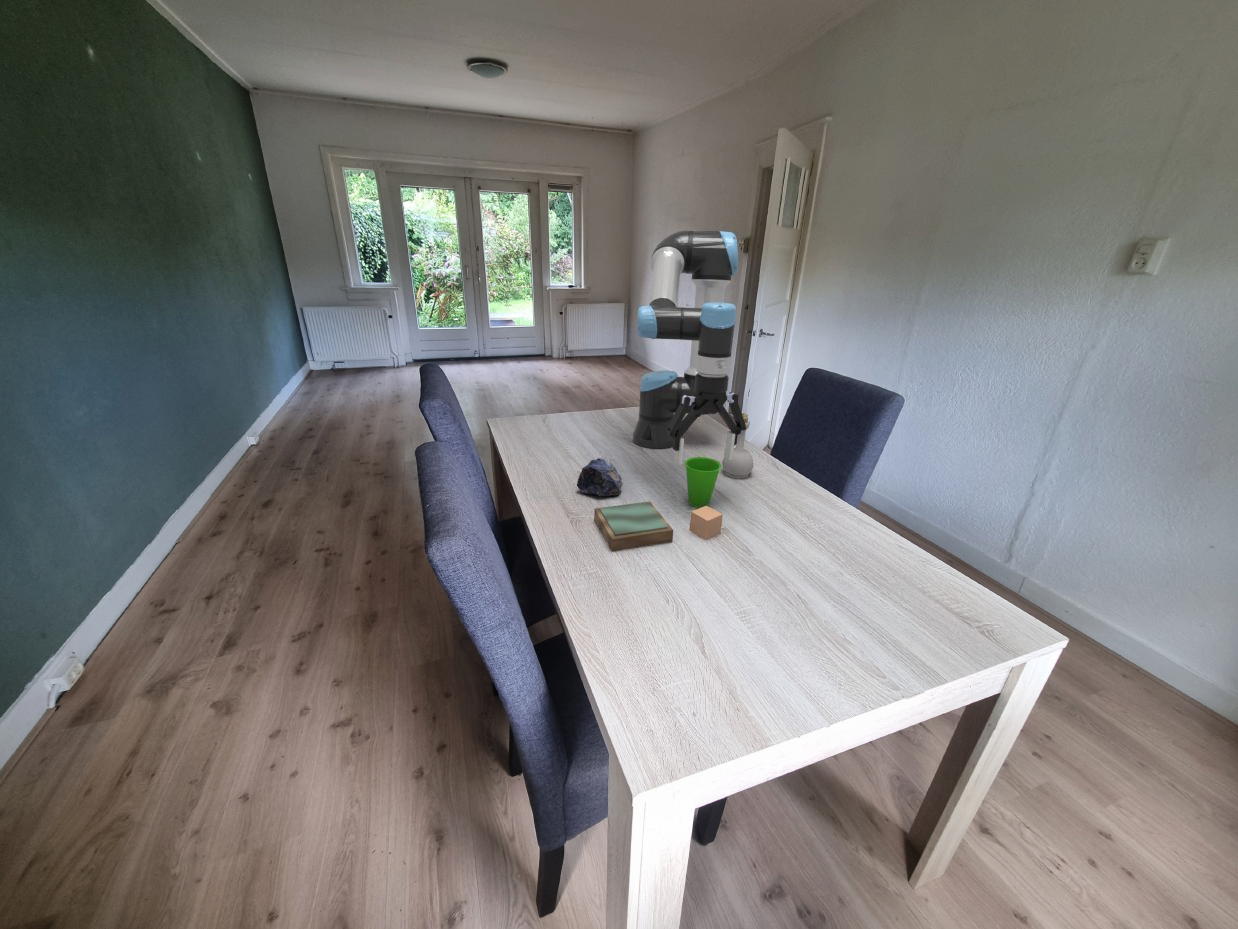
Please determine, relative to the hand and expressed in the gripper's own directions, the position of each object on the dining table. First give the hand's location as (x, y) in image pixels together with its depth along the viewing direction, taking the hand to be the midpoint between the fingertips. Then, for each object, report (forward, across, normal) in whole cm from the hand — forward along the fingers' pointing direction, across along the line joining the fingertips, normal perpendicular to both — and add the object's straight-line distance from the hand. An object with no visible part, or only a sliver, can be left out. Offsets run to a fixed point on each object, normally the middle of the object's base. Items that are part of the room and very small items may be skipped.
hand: (703, 460), depth 121 cm
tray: (+12, -21, -8) cm, 25 cm away
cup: (+12, 0, 0) cm, 12 cm away
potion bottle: (+12, +19, +14) cm, 27 cm away
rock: (+12, -22, +14) cm, 28 cm away
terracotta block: (+12, -5, -12) cm, 18 cm away
